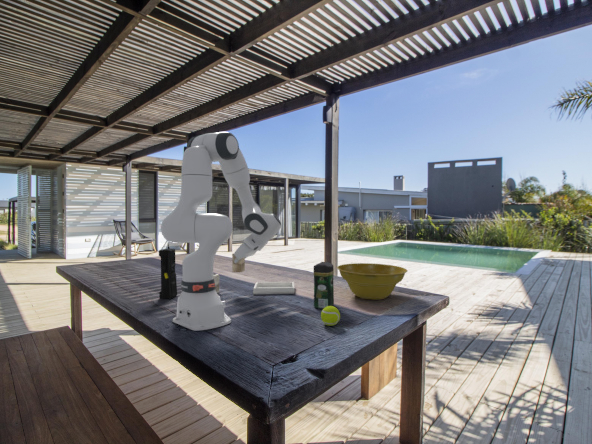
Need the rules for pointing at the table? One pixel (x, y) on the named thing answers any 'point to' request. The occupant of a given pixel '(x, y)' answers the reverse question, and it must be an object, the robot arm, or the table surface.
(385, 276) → the planter bowl
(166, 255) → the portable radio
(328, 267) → the coffee jar
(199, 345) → the table surface
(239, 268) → the block
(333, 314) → the tennis ball
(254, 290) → the tray
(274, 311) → the table surface
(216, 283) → the block
